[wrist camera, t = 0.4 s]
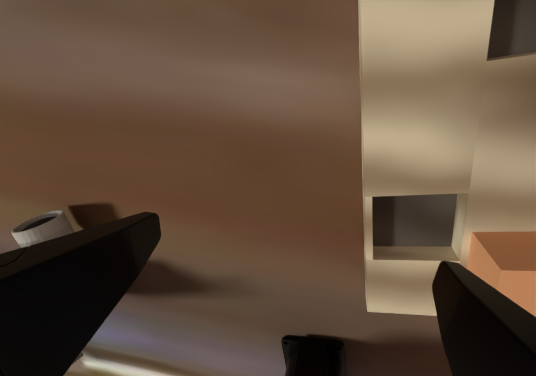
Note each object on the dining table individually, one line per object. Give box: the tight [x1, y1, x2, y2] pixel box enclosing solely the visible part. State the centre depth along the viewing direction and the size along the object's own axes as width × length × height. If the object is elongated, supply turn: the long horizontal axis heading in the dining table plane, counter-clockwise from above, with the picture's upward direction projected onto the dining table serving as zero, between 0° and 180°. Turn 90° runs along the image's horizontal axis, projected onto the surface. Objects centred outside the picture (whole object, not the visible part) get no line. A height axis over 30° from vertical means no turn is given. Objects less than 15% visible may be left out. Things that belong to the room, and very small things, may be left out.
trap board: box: [358, 0, 536, 316], centre depth 17 cm, size 33×13×4 cm, turn 9°
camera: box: [11, 210, 83, 364], centre depth 26 cm, size 9×12×15 cm
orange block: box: [467, 231, 536, 317], centre depth 18 cm, size 5×5×4 cm
